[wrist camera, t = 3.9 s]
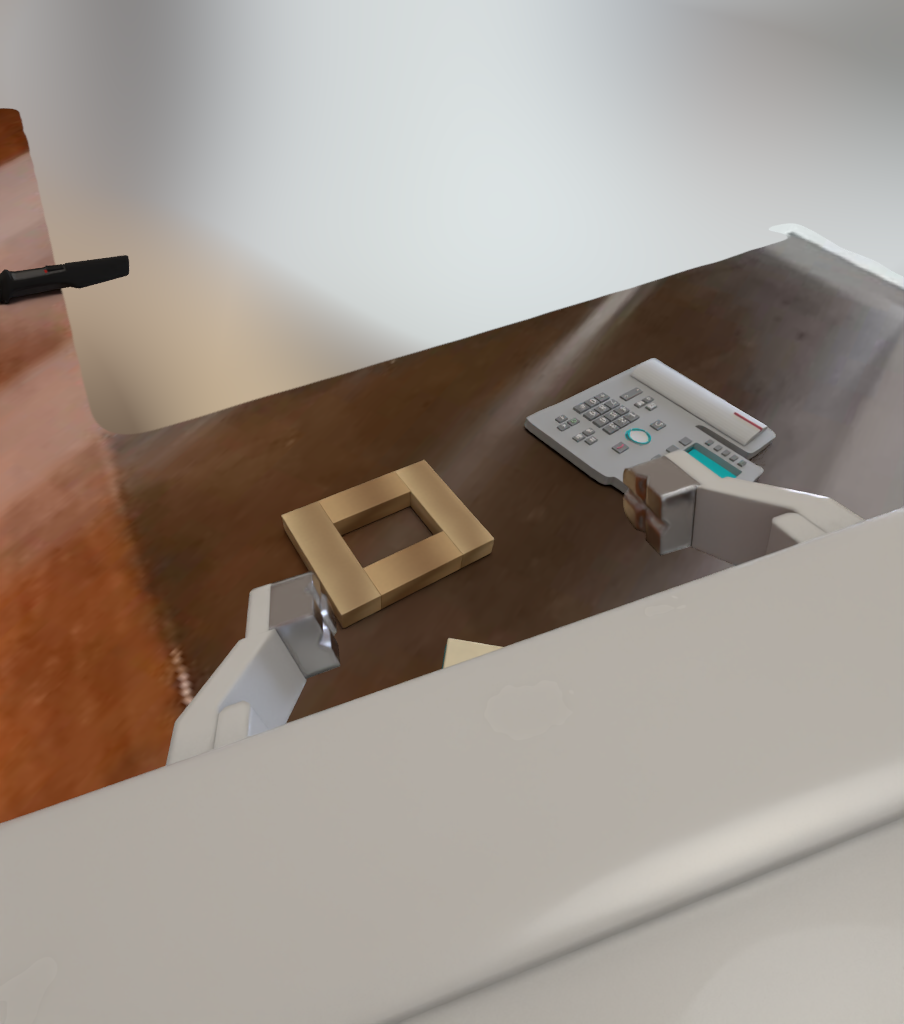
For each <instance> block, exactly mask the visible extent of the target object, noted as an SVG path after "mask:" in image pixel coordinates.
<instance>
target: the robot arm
mask: <svg viewBox="0 0 904 1024" xmlns="http://www.w3.org/2000/svg"><path fill="white" fill-rule="evenodd" d="M623 483H624V484H625V485H626V486H627V487H628V489H627V491H626V492H625V494H624V496H623V505H624V510H625V513H626V516H627V518H628V520H629V522H630V523H631V525H632V526H633V527H634V528H635V529H636V530H639V531H642V532H645V533H646V541H647V542H648V543H649V544H650V545H651V546H652V547H653V548H654V549H655V550H656V552H657V553H658V554H659V555H660V556H661V555H664V554H667V553H670V552H673V551H677V550H680V549H683V548H686V547H689V546H692V547H693V548H695V549H697V550H700V551H702V552H704V553H707V554H709V555H712V556H714V557H716V558H719V559H721V560H724V561H726V562H728V563H731V564H733V565H735V566H734V567H731V568H728V569H725V570H723V571H720V572H717V573H714V574H711V575H708V576H706V577H703V578H700V579H697V580H694V581H691V582H688V583H686V584H683V585H680V586H677V587H674V588H671V589H668V590H666V591H663V592H660V593H657V594H654V595H651V596H648V597H646V598H643V599H640V600H637V601H634V602H631V603H628V604H626V605H623V606H620V607H617V608H614V609H611V610H608V611H606V612H603V613H600V614H597V615H594V616H591V617H588V618H586V619H583V620H580V621H577V622H574V623H571V624H569V625H566V626H563V627H560V628H557V629H554V630H552V631H549V632H546V633H543V634H540V635H537V636H535V637H532V638H529V639H526V640H523V641H520V642H518V643H515V644H512V645H509V646H506V647H503V648H501V649H498V650H495V651H492V652H489V653H486V654H483V655H481V656H478V657H475V658H472V659H469V660H466V661H463V662H461V663H458V664H455V665H452V666H449V667H446V668H444V669H441V670H438V671H435V672H432V673H429V674H426V675H424V676H421V677H418V678H415V679H412V680H409V681H406V682H404V683H401V684H398V685H395V686H392V687H389V688H387V689H384V690H381V691H378V692H375V693H372V694H369V695H367V696H364V697H361V698H358V699H355V700H352V701H349V702H347V703H344V704H341V705H338V706H335V707H332V708H329V709H327V710H324V711H321V712H318V713H315V714H312V715H310V716H307V717H304V718H301V719H298V720H295V721H292V722H290V723H287V724H286V722H287V720H288V718H289V716H290V714H291V712H292V710H293V707H294V705H295V703H296V701H297V699H298V697H299V695H300V693H301V691H302V689H303V687H304V685H305V683H306V679H307V678H309V677H312V676H315V675H317V674H320V673H323V672H325V671H328V670H331V669H333V668H336V667H339V666H340V659H339V648H338V643H337V641H336V639H335V638H334V635H335V633H336V632H337V628H336V621H335V617H334V613H333V609H332V607H331V604H330V602H329V600H328V598H327V596H326V595H325V594H323V593H321V589H320V582H319V580H318V578H317V576H316V574H315V573H314V572H313V571H310V572H306V573H303V574H300V575H297V576H293V577H290V578H287V579H283V580H280V581H277V582H274V583H272V584H268V585H265V586H261V587H258V588H255V589H252V591H251V592H250V594H249V604H248V614H247V624H246V634H245V639H242V640H239V641H238V643H237V644H236V645H235V646H234V648H233V649H232V650H231V652H230V653H229V654H228V655H227V657H226V658H225V659H224V660H223V662H222V663H221V664H220V666H219V667H218V668H217V669H216V671H215V672H214V673H213V674H212V676H211V677H210V678H209V680H208V681H207V682H206V683H205V685H204V686H203V687H202V688H201V690H200V691H199V692H198V694H197V695H196V696H195V697H194V699H193V700H192V701H191V702H190V704H189V705H188V706H187V708H186V709H185V710H184V711H183V713H182V714H181V715H180V717H179V718H178V719H177V720H176V722H175V724H174V729H173V734H172V739H171V743H170V748H169V753H168V758H167V763H166V766H164V767H161V768H158V769H155V770H153V771H150V772H147V773H144V774H141V775H138V776H136V777H133V778H130V779H127V780H124V781H121V782H118V783H116V784H113V785H110V786H107V787H104V788H101V789H98V790H96V791H93V792H90V793H87V794H84V795H81V796H78V797H76V798H73V799H70V800H67V801H64V802H61V803H59V804H56V805H53V806H50V807H47V808H44V809H41V810H39V811H36V812H33V813H30V814H27V815H24V816H21V817H18V818H15V819H12V820H9V821H6V822H3V823H0V1024H904V507H902V508H899V509H896V510H893V511H890V512H887V513H885V514H882V515H879V516H876V517H873V518H870V519H868V520H864V519H863V518H861V517H859V516H858V515H856V514H855V513H853V512H852V511H850V510H848V509H847V508H845V507H844V506H842V505H840V504H839V503H837V502H836V501H834V500H833V499H831V498H829V497H825V496H820V495H815V494H810V493H805V492H800V491H795V490H791V489H786V488H781V487H776V486H771V485H766V484H761V483H756V482H751V481H746V480H741V479H736V478H731V477H725V478H721V477H719V476H718V475H717V474H715V473H714V472H713V471H711V470H710V469H709V468H707V467H706V466H704V465H703V464H702V463H700V462H699V461H698V460H696V459H695V458H694V457H692V456H691V455H690V454H688V453H687V452H685V451H684V450H680V449H679V450H676V451H673V452H670V453H667V454H665V455H662V456H660V457H658V458H655V459H652V460H649V461H646V462H643V463H640V464H637V465H634V466H631V467H628V468H625V469H624V472H623Z"/></svg>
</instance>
